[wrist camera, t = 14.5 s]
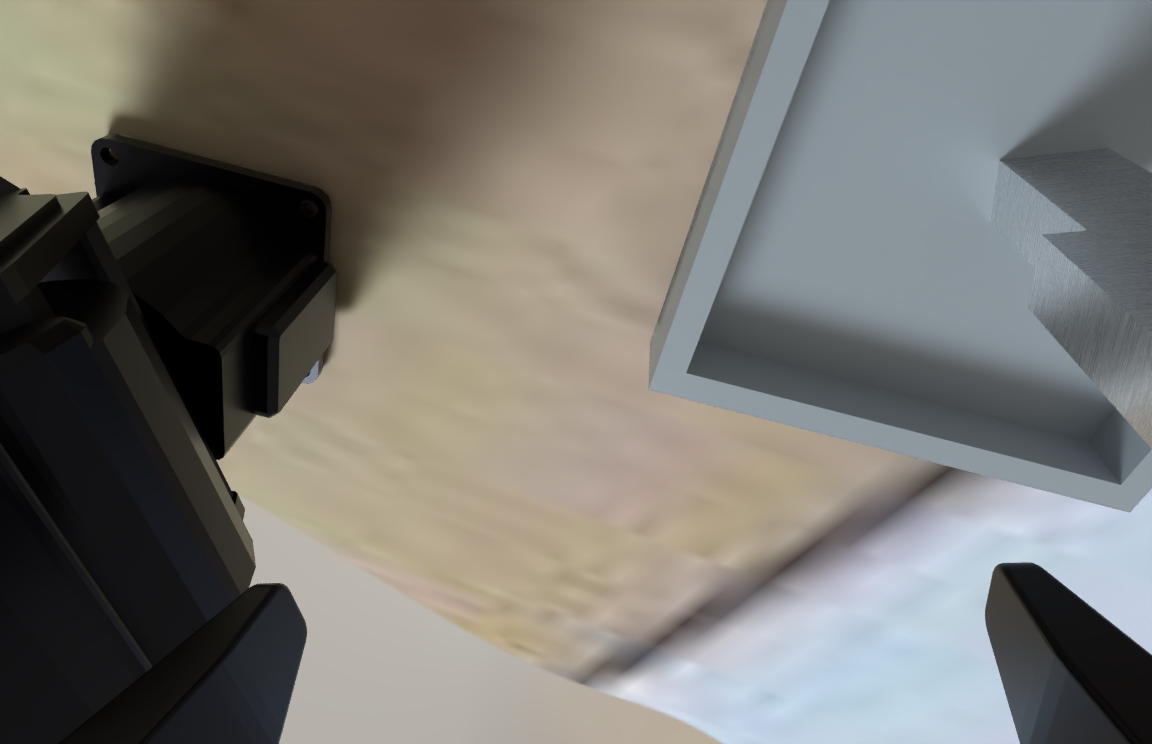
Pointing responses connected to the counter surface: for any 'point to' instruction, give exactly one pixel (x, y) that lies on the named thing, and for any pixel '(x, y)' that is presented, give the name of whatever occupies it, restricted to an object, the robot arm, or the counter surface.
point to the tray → (907, 234)
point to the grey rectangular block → (1088, 264)
